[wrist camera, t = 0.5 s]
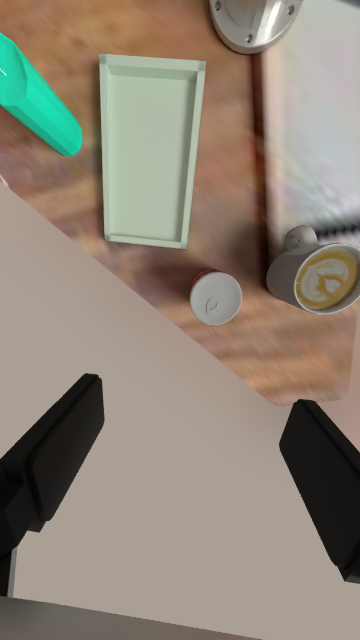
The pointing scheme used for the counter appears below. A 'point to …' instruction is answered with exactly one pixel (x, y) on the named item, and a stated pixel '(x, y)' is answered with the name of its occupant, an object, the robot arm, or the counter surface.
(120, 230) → the tray
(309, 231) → the coffee mug
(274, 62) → the counter surface
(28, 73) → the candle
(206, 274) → the canned food
